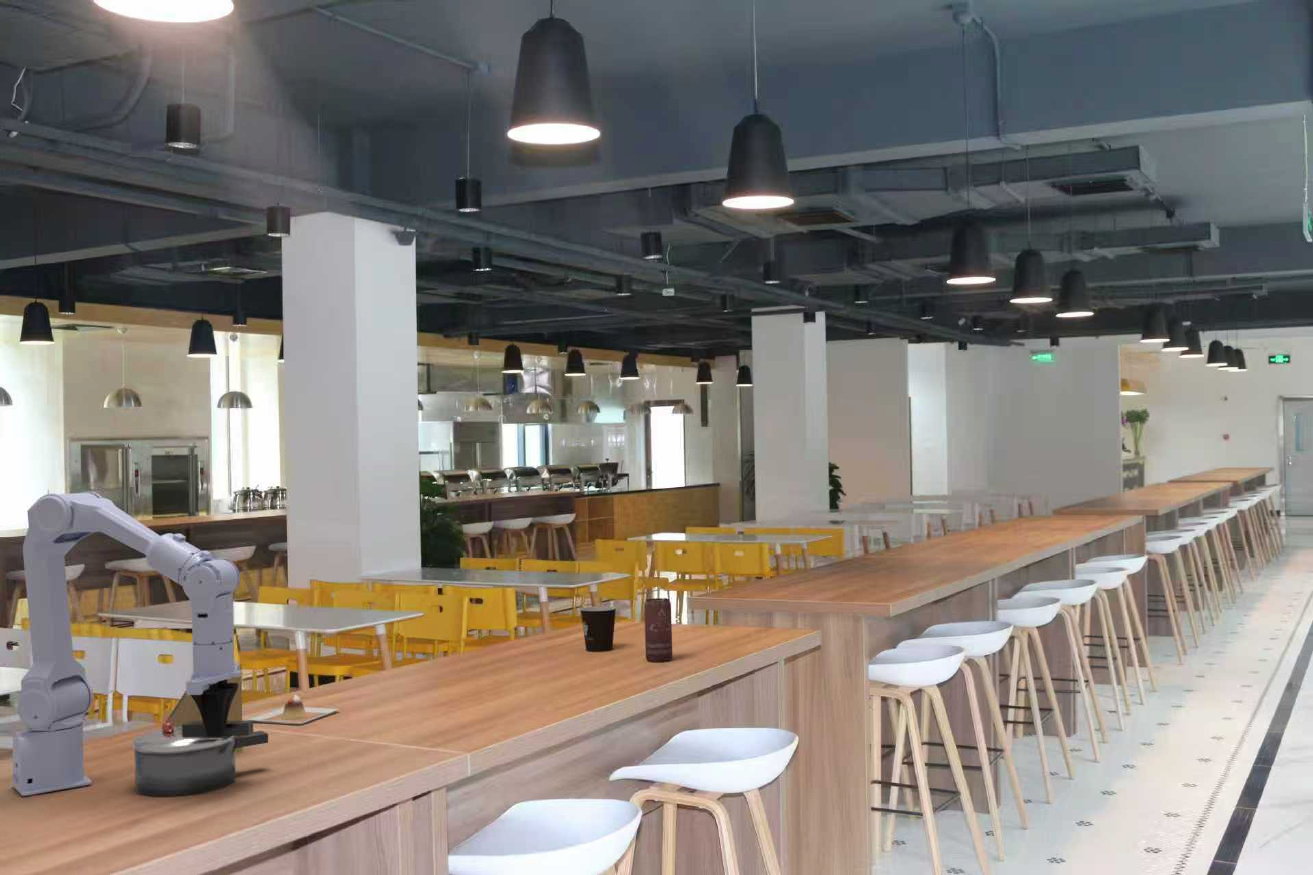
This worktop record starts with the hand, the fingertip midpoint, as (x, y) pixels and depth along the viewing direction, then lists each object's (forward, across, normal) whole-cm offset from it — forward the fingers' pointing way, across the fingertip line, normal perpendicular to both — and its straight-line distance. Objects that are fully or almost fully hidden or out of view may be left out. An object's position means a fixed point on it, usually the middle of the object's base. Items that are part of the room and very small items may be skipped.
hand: (215, 734), depth 177 cm
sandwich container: (+8, +23, +14) cm, 28 cm away
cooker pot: (+8, +5, +4) cm, 10 cm away
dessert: (+9, +49, +6) cm, 50 cm away
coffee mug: (+8, +121, -45) cm, 129 cm away
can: (+8, +103, -61) cm, 120 cm away
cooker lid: (+2, +3, +5) cm, 6 cm away
